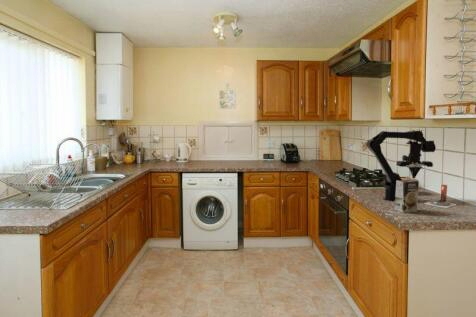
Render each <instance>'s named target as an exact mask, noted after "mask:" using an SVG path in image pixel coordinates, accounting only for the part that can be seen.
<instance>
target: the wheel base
mask: <svg viewBox="0 0 476 317" xmlns="http://www.w3.org/2000/svg"><path fill="white" fill-rule="evenodd" d="M423 204H424V205H427V206H433V207H438V208H442V209H447V208H452V207H455V206H457V204H456V203H451V205H437V204H433V203H430V201H427V202H424V203H423Z"/></svg>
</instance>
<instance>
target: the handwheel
mask: <svg viewBox="0 0 476 317" xmlns="http://www.w3.org/2000/svg"><path fill="white" fill-rule="evenodd" d="M440 188H441V189H440V199H431V200H429V202H430V203H433V204H437V205H451V201H449V200H447V195H448V194H447V193H448V185H447V184H441V187H440Z"/></svg>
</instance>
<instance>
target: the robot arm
mask: <svg viewBox="0 0 476 317" xmlns="http://www.w3.org/2000/svg"><path fill="white" fill-rule="evenodd" d="M386 139H404V140H405V139H406V140H408V141H407V142H406V143H405V144H407V145H409V153H408V156H407V154H406V155H405V154H402V157H401V158H402V159H401V160H397V161H396V166H397V167H402V168H403V167H405V168H408V169H409V172H410V174H411V178H413V179H416V176H417V175H418V173H419V172H420V171H421V169H423V166H425V167H427V168H433V167H434V163H433V162H432V161H429V160H422V161H421V157H422V154H421V152H422V153H434V152H435V151H436V148H437V146H436V144H435V140H426V137H424V133H423V132H422V131H421V130H409V131H402V132H401V131H386V130H385V131H384V130H383V131H380V132H379V133H377V134H376V135H375V136H372V138H370V139H368V140H367V141H366V143H365V145H366V147H367V149H368V150H369V151H370V152H371V153H372V154H373V155H374V156H375V158H376V160H377V162H378V163H379V165H380V167H381V169H382V170H383V172H384V174H385V179H386V182H385V183H384V184H383V187H384V189H385V194H384V195H385V196H384V197H383V198H382V199H383V200H386V201H391V202H395V195H396V180H402V179H401V178H402V177H400V176H401V175H400V174H399V173H397V172H394V171H393V169H392V167H391V165H390V164H389V163H388V161H387V159H386V157H385V156H384V153H383V152H382V147H381V145H382V143H384V141H385V140H386Z"/></svg>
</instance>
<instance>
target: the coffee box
mask: <svg viewBox="0 0 476 317" xmlns="http://www.w3.org/2000/svg"><path fill="white" fill-rule="evenodd" d="M419 184H420V182H419V180H418V181H414V180H396V195H395V201H394V211H396V210H397V212H400V213H402V214H404V213H415V212H416V213H417V212H418V201H419V200H418V199H419Z"/></svg>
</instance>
